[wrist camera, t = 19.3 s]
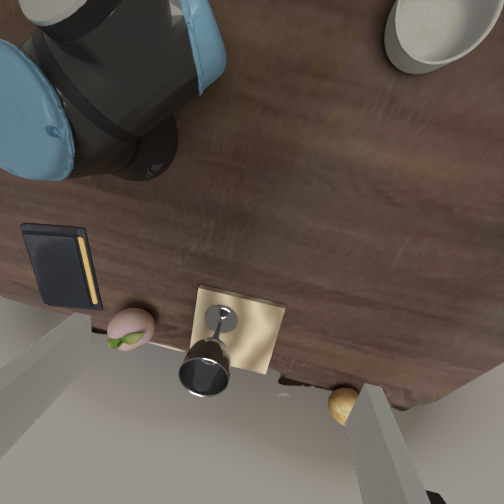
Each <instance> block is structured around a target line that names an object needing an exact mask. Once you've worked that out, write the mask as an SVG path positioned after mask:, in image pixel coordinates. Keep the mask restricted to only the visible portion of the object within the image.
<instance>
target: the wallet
mask: <svg viewBox="0 0 504 504" xmlns="http://www.w3.org/2000/svg"><path fill="white" fill-rule="evenodd" d="M20 228H21V232H22V235H23V239H24V242H25V245H26V248H27V251H28V254H29V257H30V260H31V263H32V266H33V270H34V273H35V277H36V280H37V283H38V287H39V290H40V294H41V297H42V300H43V302H44V303H45V304H47V305H49V306H56V307H70V308H82V309H93V310H103V306H102V301H101V297H100V293H99V288H98V284H97V279H96V275H95V270H94V266H93V261H92V256H91V252H90V247H89V243H88V238H87V233H86V229H85V228H80V227H72V226H62V225H48V224H35V223H23V224H21V225H20Z"/></svg>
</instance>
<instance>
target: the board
mask: <svg viewBox="0 0 504 504" xmlns="http://www.w3.org/2000/svg"><path fill="white" fill-rule="evenodd" d="M216 305H224V306H227V307H229V308H231V309H232V310H233V311H234V312H235V313H236V314H237V317H238V324H237V327H236V328H235V329H234V330H233V331H231V332H229V333H220V335H219V338H220V340H221V341H223V342H224V343H225V344H226V346H227V347H228V349H229V352H230V358H231V366H234V367H238V368H242V369H246V370H250V371H254V372H258V373H262V374H266V371H267V368H268V365H269V362H270V358H271V355H272V352H273V348H274V345H275V342H276V338H277V335H278V332H279V328H280V325H281V322H282V318H283V315H284V312H285V304H281V303H276V302H272V301H268V300H264V299H260V298H255V297H251V296H247V295H243V294H239V293H234V292H230V291H226V290H222V289H218V288H213V287H209V286H205V285H200V286H199V288H198V295H197V302H196V309H195V316H194V323H193V330H192V337H191V344H190V349H191V347H192V346H193V345H194V344H195V343H196V342H197V341H199V340H200V339H203V338H206V337H212V336H213V335H214V333H215V332H214V331H212V330H211V329H210V328H209V327H208V326H207V325H206V322H205V313H206V312H207V310H208V309H209V308H211V307H213V306H216Z"/></svg>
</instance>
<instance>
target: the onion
mask: <svg viewBox="0 0 504 504" xmlns="http://www.w3.org/2000/svg"><path fill="white" fill-rule="evenodd" d="M358 396H359V394H358V393H357V392H356V391H354V390H353V389H352V388H339V389H336V390H335V391H333V392H332V393H331V395H330V396H329V400H328V407H329V411H330V413H331V415H332V416H333V418H334V419H335V420H336V421H337V422H339V423H340V424H342V425H344V426H345V422H346V420H347V418H348V416H349V414H350V412H351V410H352V408H353V406H354V404H355V402H356V400H357V398H358Z"/></svg>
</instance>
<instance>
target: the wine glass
mask: <svg viewBox="0 0 504 504" xmlns="http://www.w3.org/2000/svg"><path fill="white" fill-rule="evenodd" d="M205 322H206V325H207V326H208V327H209V328H210V329H211V330H212V331H214V332H215V333H214V335H213V336H212V337H206V338H203V339H200V340H199V341H197V342H196V343H195V344H194V345H193V346H192V347H191V349H190V350H189V351H188V353H187V355H186V356H185V358H184V360H183V362H182V364H181V367H180V370H179V374H178V376H179V380H180V383H181V384H182V386H183V387H184V388H185V389H187V390H188V391H189V392H191V393H193V394H195V395H198V396H203V397H211V396H216V395H219V394H220V393H222V392H223V391H224V390H225V389H226V388H227V385H228V382H229V377H230V369H231V358H230V352H229V349H228V347H227V346H226V344H225V343H224V342H223V341H221V340H220V338H219V335H220V333H229V332H231V331H233V330H234V329H235V328H236V327H237V324H238V317H237V314H236V313H235V312H234V311H233V310H232V309H231V308H229V307H227V306H224V305H216V306H213V307H211V308H209V309H208V310H207V312H206V313H205Z"/></svg>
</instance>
